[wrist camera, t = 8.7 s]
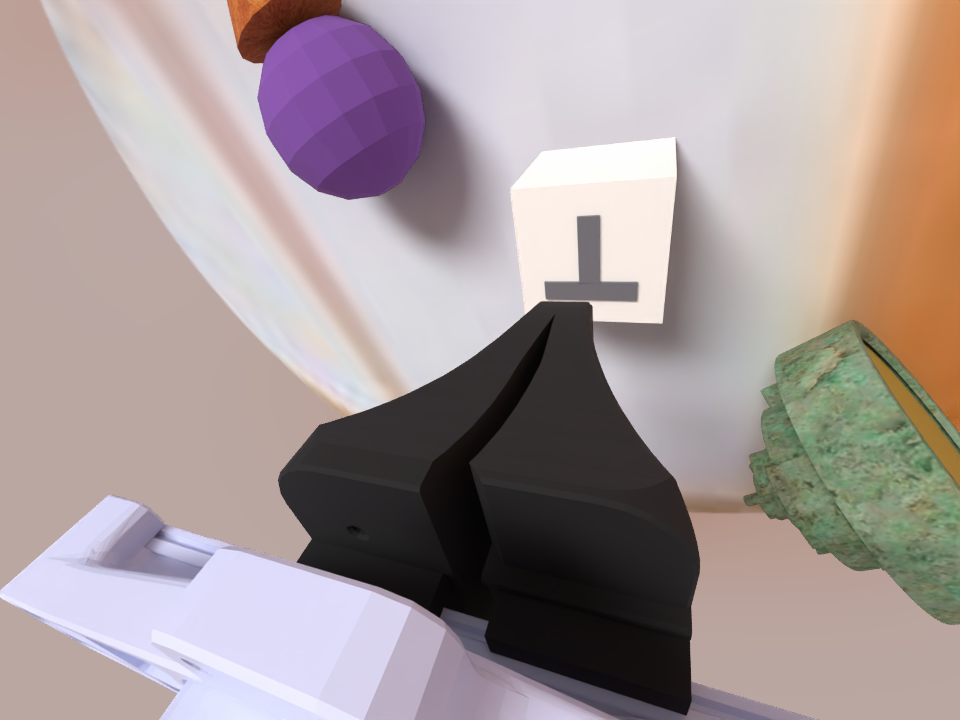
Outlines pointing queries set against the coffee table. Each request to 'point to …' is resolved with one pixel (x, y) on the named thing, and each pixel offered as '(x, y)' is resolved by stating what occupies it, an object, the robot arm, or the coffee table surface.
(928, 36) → the coffee table surface
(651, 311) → the letter cube
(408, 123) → the kendama
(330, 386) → the coffee table surface
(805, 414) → the decorative artifact
